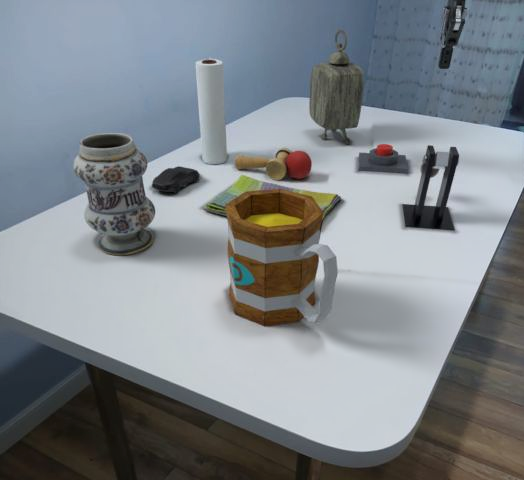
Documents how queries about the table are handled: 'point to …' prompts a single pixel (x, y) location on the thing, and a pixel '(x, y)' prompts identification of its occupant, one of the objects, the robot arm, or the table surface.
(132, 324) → the table surface
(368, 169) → the button box
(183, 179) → the toy car
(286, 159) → the kendama
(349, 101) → the tabletop clock
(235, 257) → the mug
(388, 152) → the button
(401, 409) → the table surface
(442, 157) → the crank
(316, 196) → the dish towel
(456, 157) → the crank bracket
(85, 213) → the apothecary jar
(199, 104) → the paper towel roll
